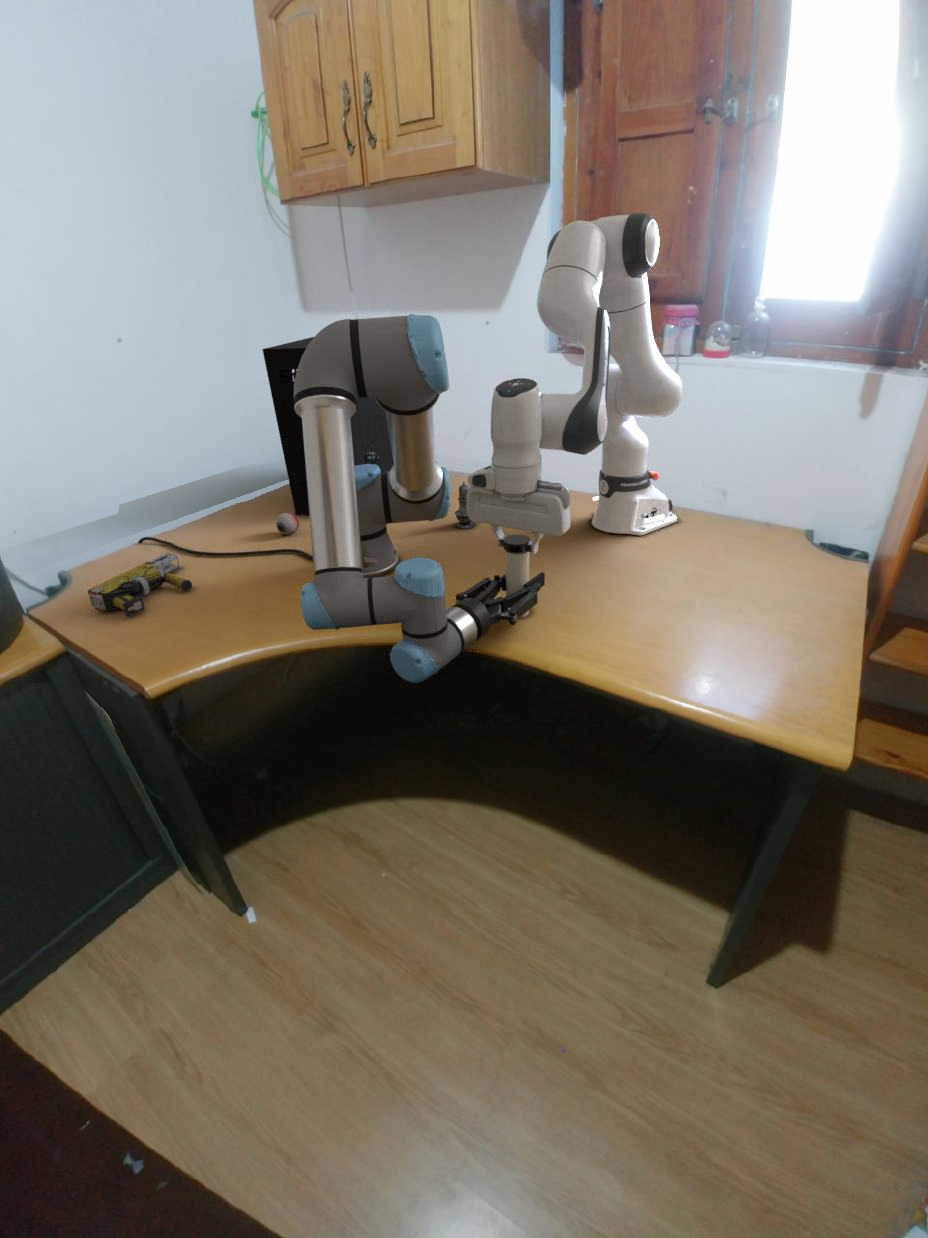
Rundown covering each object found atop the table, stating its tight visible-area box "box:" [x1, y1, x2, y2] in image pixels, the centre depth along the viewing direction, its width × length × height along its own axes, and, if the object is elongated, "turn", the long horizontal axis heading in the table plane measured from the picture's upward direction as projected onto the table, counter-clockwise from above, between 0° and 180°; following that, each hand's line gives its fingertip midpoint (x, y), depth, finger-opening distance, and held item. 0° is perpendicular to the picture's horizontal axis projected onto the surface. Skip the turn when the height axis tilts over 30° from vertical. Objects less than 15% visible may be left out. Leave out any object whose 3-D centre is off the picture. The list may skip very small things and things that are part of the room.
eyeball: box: [275, 511, 300, 536], centre depth 163 cm, size 6×6×6 cm
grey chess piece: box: [454, 481, 477, 529], centre depth 161 cm, size 6×6×12 cm
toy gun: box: [87, 552, 193, 618], centre depth 137 cm, size 5×24×15 cm
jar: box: [504, 550, 530, 618], centre depth 118 cm, size 5×5×15 cm
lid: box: [502, 533, 532, 553], centre depth 114 cm, size 5×5×2 cm
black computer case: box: [262, 336, 394, 515], centre depth 181 cm, size 38×20×45 cm, turn 167°
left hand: (531, 575), depth 122 cm, fingers closed on jar, 5 cm apart
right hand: (517, 548), depth 115 cm, fingers closed on lid, 5 cm apart
